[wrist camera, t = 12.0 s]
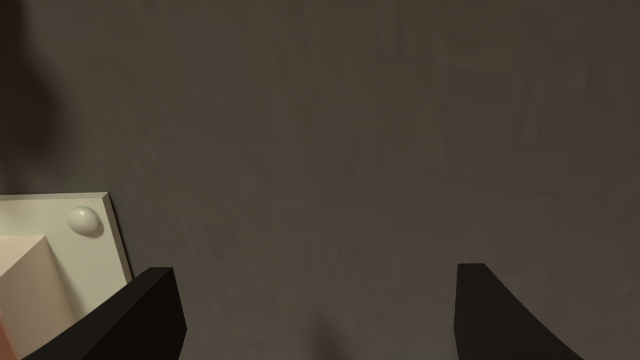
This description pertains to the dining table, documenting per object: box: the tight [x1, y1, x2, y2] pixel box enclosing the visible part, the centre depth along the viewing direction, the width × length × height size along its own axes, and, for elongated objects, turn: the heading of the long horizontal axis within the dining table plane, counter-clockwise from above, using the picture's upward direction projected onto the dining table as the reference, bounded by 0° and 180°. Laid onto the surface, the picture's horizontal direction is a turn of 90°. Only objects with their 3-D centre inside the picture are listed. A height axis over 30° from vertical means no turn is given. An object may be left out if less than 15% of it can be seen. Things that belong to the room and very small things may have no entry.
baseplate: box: [0, 192, 132, 322], centre depth 26 cm, size 12×12×1 cm
